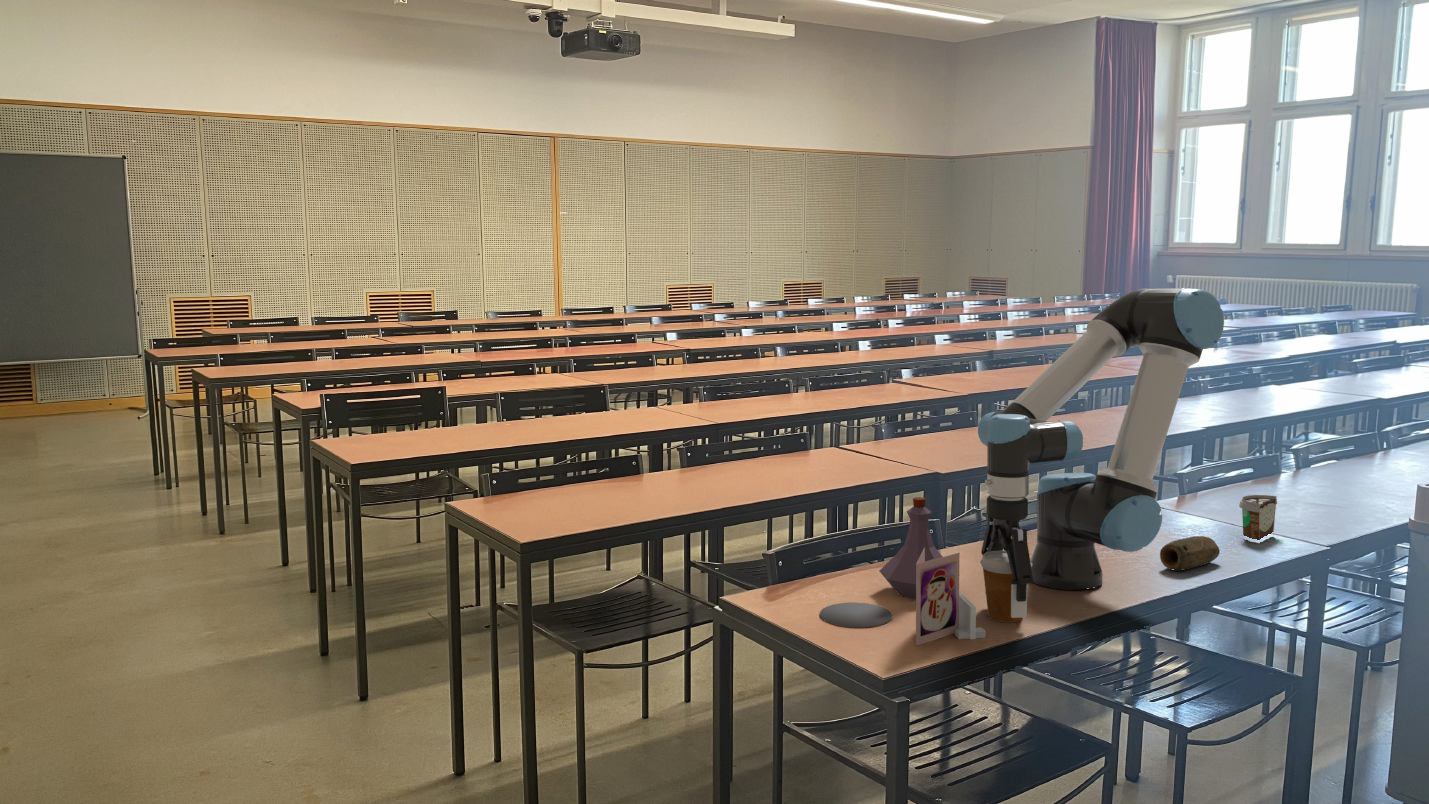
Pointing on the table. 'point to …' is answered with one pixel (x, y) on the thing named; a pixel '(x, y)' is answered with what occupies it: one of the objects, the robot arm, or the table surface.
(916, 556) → the flask
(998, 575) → the disposable coffee cup
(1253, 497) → the food container
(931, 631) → the greeting card
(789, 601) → the table surface
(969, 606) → the divider
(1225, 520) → the table surface
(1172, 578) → the table surface
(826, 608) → the mat
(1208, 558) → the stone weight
